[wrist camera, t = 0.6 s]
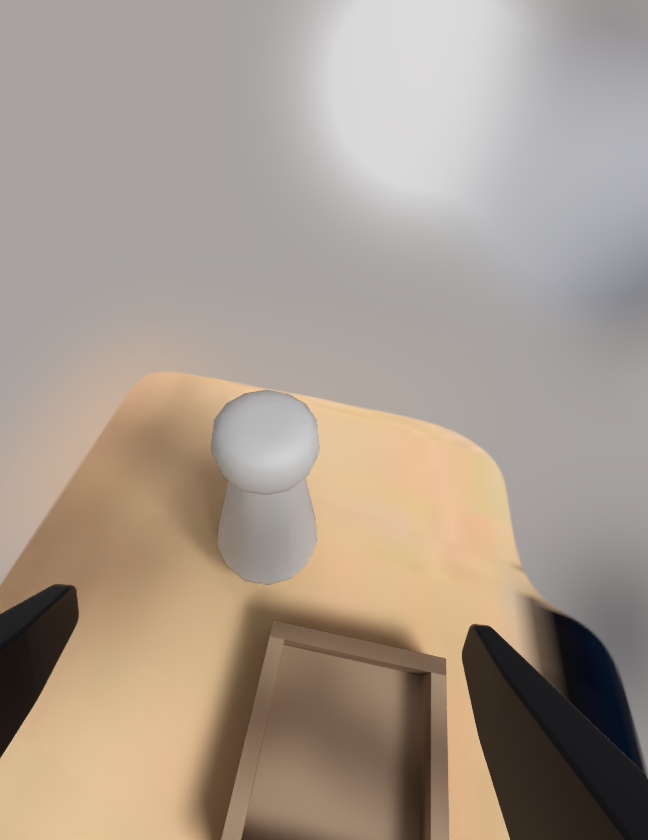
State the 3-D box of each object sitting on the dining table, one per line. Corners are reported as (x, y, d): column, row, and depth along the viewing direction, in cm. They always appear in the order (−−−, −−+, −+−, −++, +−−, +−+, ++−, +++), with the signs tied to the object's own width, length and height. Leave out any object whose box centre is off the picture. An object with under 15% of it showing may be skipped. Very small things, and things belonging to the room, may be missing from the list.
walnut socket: (431, 917, 16) (450, 940, 14) (218, 865, 16) (211, 880, 15) (431, 664, 22) (446, 658, 20) (273, 629, 22) (273, 620, 20)
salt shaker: (208, 585, 23) (158, 469, 13) (236, 498, 27) (213, 356, 17) (306, 603, 23) (330, 500, 13) (320, 514, 27) (348, 380, 17)
